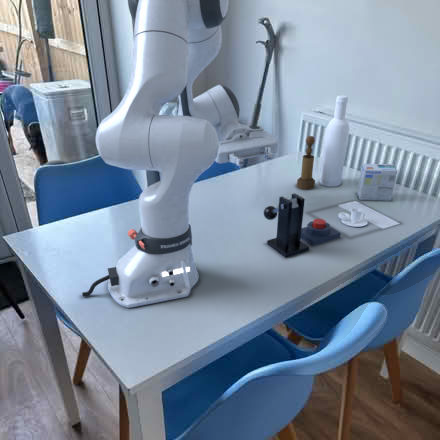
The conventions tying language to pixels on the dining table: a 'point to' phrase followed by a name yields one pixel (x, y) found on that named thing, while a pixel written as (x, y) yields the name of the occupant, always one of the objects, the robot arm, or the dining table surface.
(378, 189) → the light bulb box
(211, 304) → the dining table surface
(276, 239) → the switch bracket
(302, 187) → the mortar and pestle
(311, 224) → the button housing
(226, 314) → the dining table surface
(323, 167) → the bottle
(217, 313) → the dining table surface
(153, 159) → the robot arm
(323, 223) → the button
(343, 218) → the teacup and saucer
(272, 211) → the lever
